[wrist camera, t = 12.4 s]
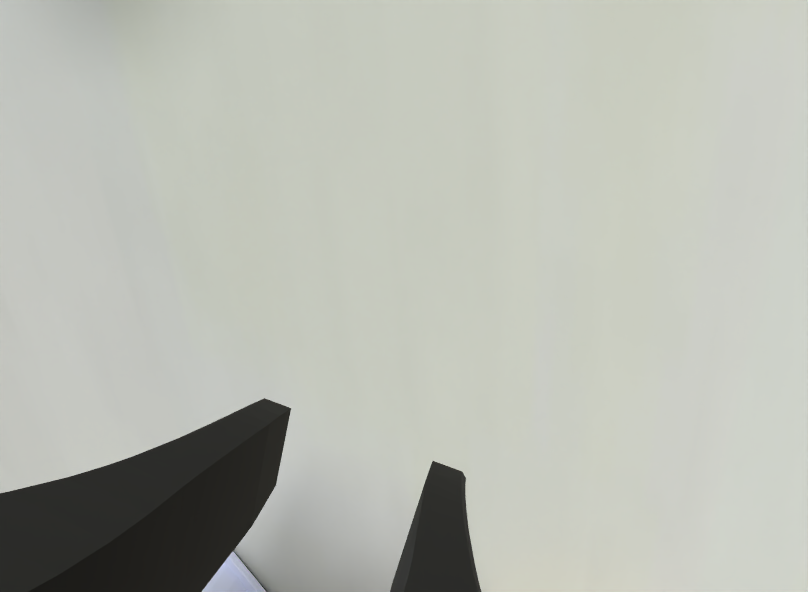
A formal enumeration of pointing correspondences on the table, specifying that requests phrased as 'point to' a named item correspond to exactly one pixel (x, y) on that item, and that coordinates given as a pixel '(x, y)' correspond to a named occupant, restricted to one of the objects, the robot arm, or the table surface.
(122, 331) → the table surface
